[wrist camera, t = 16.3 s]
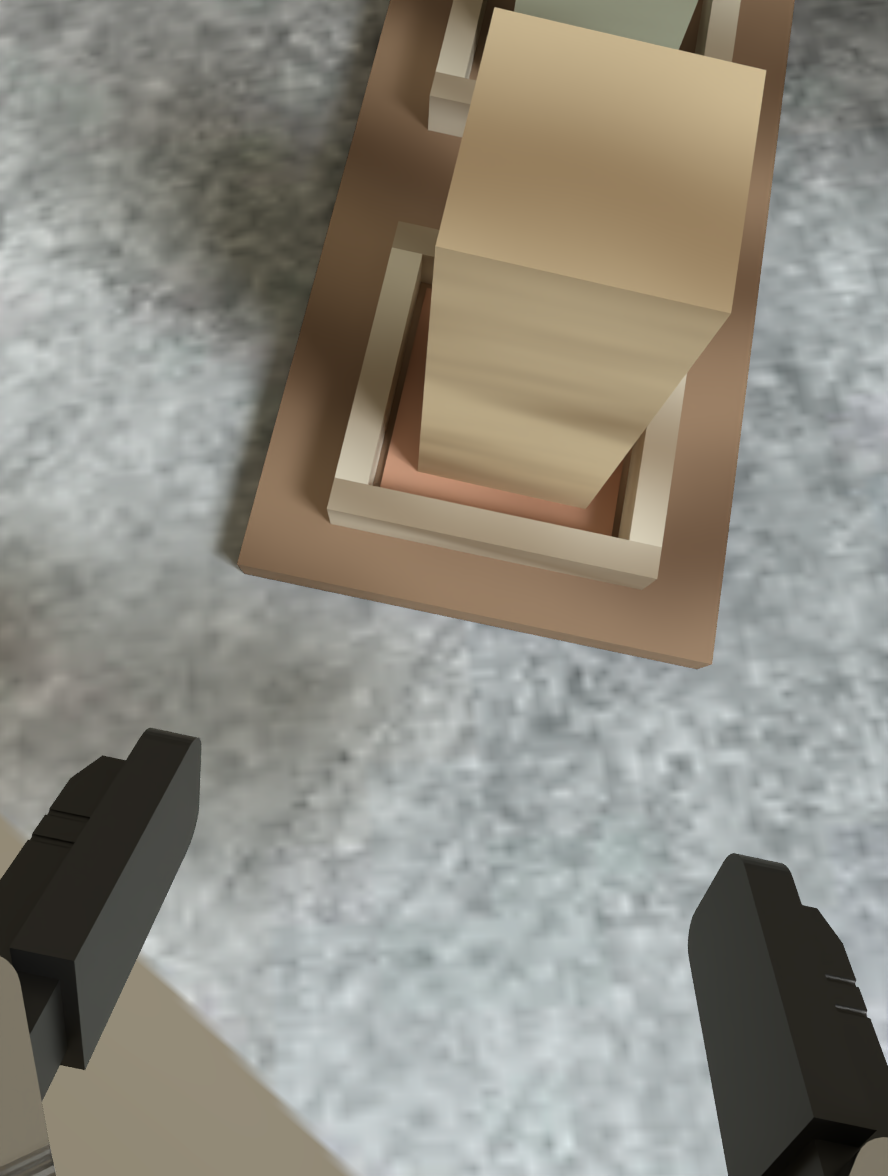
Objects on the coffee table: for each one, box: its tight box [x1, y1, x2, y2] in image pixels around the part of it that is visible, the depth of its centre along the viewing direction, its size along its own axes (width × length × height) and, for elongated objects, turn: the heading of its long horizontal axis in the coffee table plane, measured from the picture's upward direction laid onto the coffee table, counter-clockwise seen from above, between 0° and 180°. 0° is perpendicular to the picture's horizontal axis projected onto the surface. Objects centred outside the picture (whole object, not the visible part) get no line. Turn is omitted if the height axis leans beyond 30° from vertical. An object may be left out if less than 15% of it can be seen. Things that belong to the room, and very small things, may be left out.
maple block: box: [417, 7, 766, 509], centre depth 16 cm, size 4×4×9 cm
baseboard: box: [237, 0, 795, 669], centre depth 18 cm, size 23×12×10 cm, turn 169°
